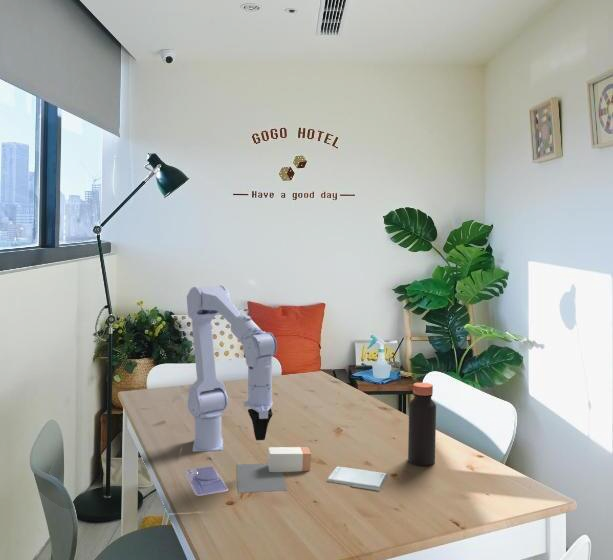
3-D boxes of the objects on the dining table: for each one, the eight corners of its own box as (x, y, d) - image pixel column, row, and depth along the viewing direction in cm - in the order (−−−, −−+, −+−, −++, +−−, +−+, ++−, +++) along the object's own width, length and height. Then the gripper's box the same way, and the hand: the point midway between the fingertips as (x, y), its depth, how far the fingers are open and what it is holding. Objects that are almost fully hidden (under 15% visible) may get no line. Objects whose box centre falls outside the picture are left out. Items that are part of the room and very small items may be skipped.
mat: (236, 466, 140) (236, 464, 140) (280, 463, 141) (280, 462, 141) (237, 494, 124) (237, 492, 124) (287, 491, 126) (287, 490, 126)
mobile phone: (196, 495, 122) (182, 469, 136) (196, 499, 122) (182, 473, 136) (229, 489, 125) (213, 464, 139) (229, 493, 125) (213, 468, 139)
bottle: (423, 454, 148) (425, 380, 147) (440, 463, 142) (442, 386, 141) (402, 458, 145) (404, 383, 144) (419, 468, 139) (420, 389, 138)
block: (268, 447, 139) (308, 447, 141) (267, 464, 140) (307, 464, 141) (270, 453, 135) (310, 453, 136) (269, 472, 135) (310, 471, 137)
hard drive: (387, 472, 134) (337, 465, 138) (379, 486, 126) (327, 477, 130) (386, 479, 134) (337, 471, 138) (379, 493, 126) (327, 484, 130)
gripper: (240, 377, 140) (240, 430, 141) (246, 392, 126) (246, 451, 127) (268, 376, 142) (268, 428, 143) (277, 390, 128) (276, 449, 128)
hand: (260, 439), depth 135 cm, fingers closed
